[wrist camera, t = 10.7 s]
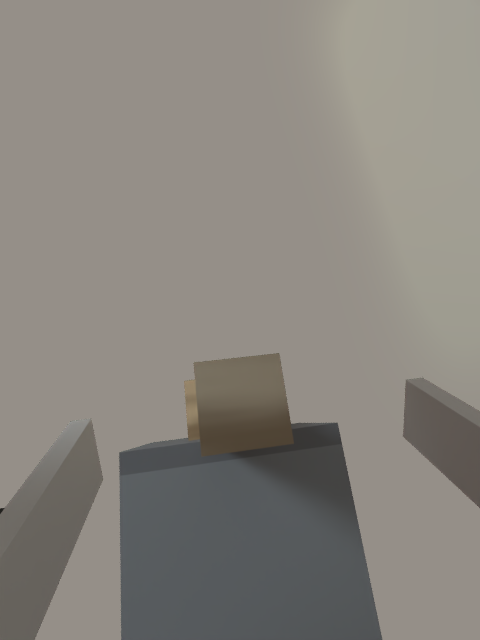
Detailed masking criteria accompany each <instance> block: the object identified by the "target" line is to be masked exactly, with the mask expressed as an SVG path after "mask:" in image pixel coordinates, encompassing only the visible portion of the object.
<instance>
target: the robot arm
mask: <svg viewBox="0 0 480 640" xmlns="http://www.w3.org/2000/svg"><path fill="white" fill-rule="evenodd" d="M403 436H404V438H405V439H406V440H407V441H408V442H410V443H411V444H412V445H413V446H414V447H415V448H416V449H417V450H418V451H419V452H420V453H421V454H423V455H424V456H425V457H426V458H427V459H428V460H429V461H430V462H431V463H432V464H433V465H434V466H436V467H437V468H438V469H439V470H440V471H441V472H442V473H443V474H444V475H445V476H446V477H447V478H448V479H449V480H451V482H453V483H454V484H455V485H456V486H457V487H458V488H459V489H460V490H461V491H462V492H463V493H464V494H465V495H467V496H468V497H469V498H470V499H471V500H472V501H473V502H474V503H475V504H476V505H477V506H478V507H479V508H480V411H478V410H477V409H475V408H473V407H472V406H470V405H468V404H466V403H465V402H463V401H461V400H460V399H458V398H456V397H454V396H453V395H451V394H449V393H448V392H446V391H444V390H442V389H441V388H439V387H437V386H436V385H434V384H432V383H430V382H429V381H427V380H425V379H424V378H417V379H409V380H406V388H405V410H404V431H403ZM102 481H103V476H102V471H101V466H100V461H99V456H98V451H97V446H96V441H95V435H94V430H93V425H92V420H91V419H84V420H76V421H71V422H70V423H69V424H68V426H67V427H66V428H65V429H64V431H63V432H62V434H61V435H60V436H59V437H58V439H57V440H56V442H55V443H54V444H53V445H52V447H51V448H50V449H49V451H48V452H47V453H46V455H45V456H44V457H43V458H42V460H41V461H40V462H39V464H38V465H37V467H36V468H35V469H34V471H33V472H32V473H31V474H30V476H29V477H28V478H27V480H26V481H25V482H24V484H23V485H22V486H21V488H20V489H19V490H18V492H17V493H16V494H15V495H14V497H13V498H12V500H11V501H10V502H9V503H8V505H7V506H6V507H5V508H1V509H0V640H35V637H36V635H37V633H38V630H39V628H40V626H41V623H42V621H43V619H44V616H45V614H46V612H47V609H48V607H49V605H50V602H51V600H52V598H53V595H54V593H55V591H56V588H57V586H58V584H59V581H60V579H61V577H62V574H63V572H64V569H65V567H66V565H67V563H68V560H69V558H70V555H71V553H72V551H73V548H74V546H75V544H76V541H77V539H78V537H79V534H80V532H81V530H82V527H83V525H84V523H85V520H86V518H87V515H88V513H89V511H90V509H91V506H92V504H93V502H94V499H95V497H96V494H97V492H98V490H99V488H100V485H101V483H102Z"/></svg>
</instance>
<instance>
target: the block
mask: <svg viewBox="0 0 480 640" xmlns="http://www.w3.org/2000/svg"><path fill="white" fill-rule="evenodd" d="M194 373H195V380H189V381H184V384H185V398H186V413H187V426H188V440H189V441H191V440H199V439H200V446H201V457H203V456H210V455H217V454H224V453H231V452H238V451H246V450H253V449H260V448H267V447H274V446H281V445H288V444H294V440H293V434H292V428H291V422H290V416H289V411H288V410H289V409H288V403H287V397H286V391H285V385H284V379H283V373H282V367H281V361H280V355H279V353H276V354H267V355H258V356H249V357H241V358H231V359H222V360H214V361H204V362H194Z"/></svg>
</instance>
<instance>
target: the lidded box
mask: <svg viewBox="0 0 480 640" xmlns="http://www.w3.org/2000/svg"><path fill="white" fill-rule="evenodd" d="M291 428H292V434H293V440H294V444H288V445H281V446H274V447H267V448H260V449H253V450H246V451H238V452H231V453H224V454H217V455H210V456H203V457H201V446H200V439H199V440H191V441H189V440H188V438H184V439H176V440H169V441H162V442H154V443H150V444H146V445H143V446H140V447H137V448H133V449H130V450H126V451H123V452H120V453H119V458H120V460H119V461H120V546H121V547H120V552H121V637H122V639H121V640H382V636H381V632H380V627H379V622H378V617H377V612H376V607H375V602H374V598H373V593H372V588H371V583H370V578H369V573H368V568H367V563H366V559H365V554H364V549H363V544H362V539H361V534H360V529H359V525H358V520H357V515H356V510H355V505H354V500H353V496H352V491H351V486H350V481H349V476H348V471H347V466H346V462H345V457H344V452H343V447H342V442H341V437H340V432H339V428H338V423H296V424H291Z"/></svg>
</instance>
